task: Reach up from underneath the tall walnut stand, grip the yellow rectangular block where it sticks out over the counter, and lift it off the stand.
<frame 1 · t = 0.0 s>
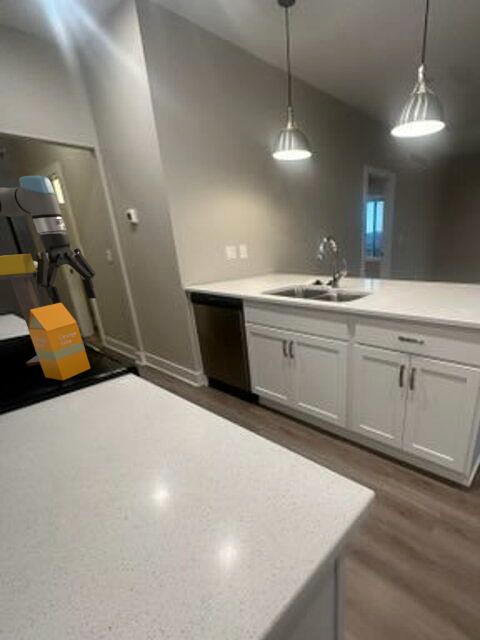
hand: (76, 302, 113), 17 cm above the counter, tool pointing down, fingers open, 12 cm apart
yellow rectangular block: (18, 272, 101), point 28 cm above the counter, touching tall stand
orange juice: (68, 373, 101), on the counter
tall stand: (49, 360, 112), on the counter
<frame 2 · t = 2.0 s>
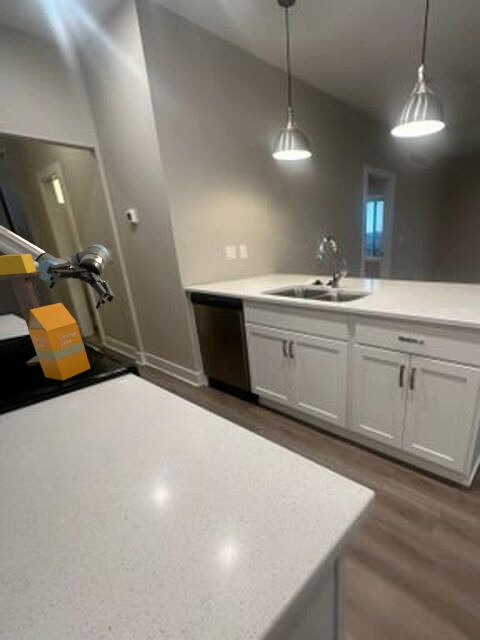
hand: (75, 295, 111), 19 cm above the counter, tool tilted 70°, fingers open, 13 cm apart
nothing on the counter moved.
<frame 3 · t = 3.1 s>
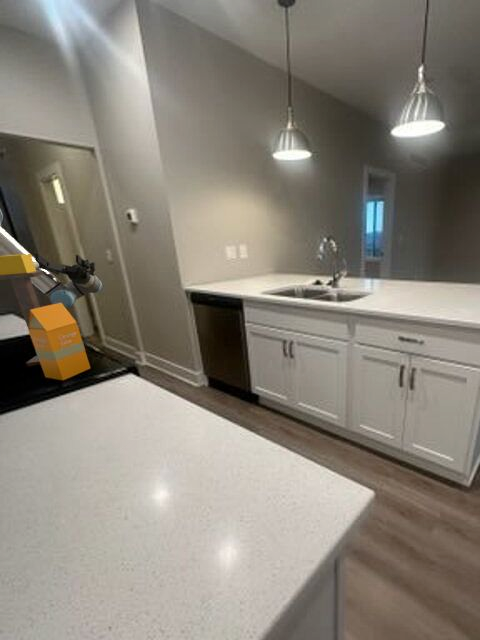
hand: (57, 258, 122), 30 cm above the counter, tool pointing upward, fingers open, 12 cm apart
nothing on the counter moved.
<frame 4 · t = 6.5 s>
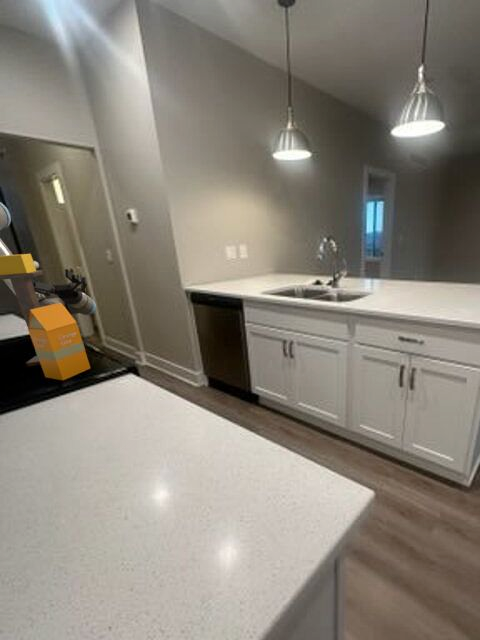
hand: (44, 274, 116), 26 cm above the counter, tool pointing upward, fingers open, 13 cm apart
nothing on the counter moved.
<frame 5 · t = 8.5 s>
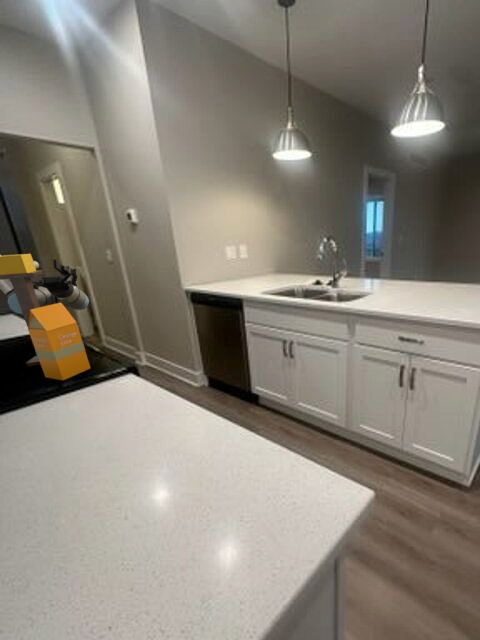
hand: (30, 265, 108), 29 cm above the counter, tool pointing upward, fingers open, 13 cm apart
nothing on the counter moved.
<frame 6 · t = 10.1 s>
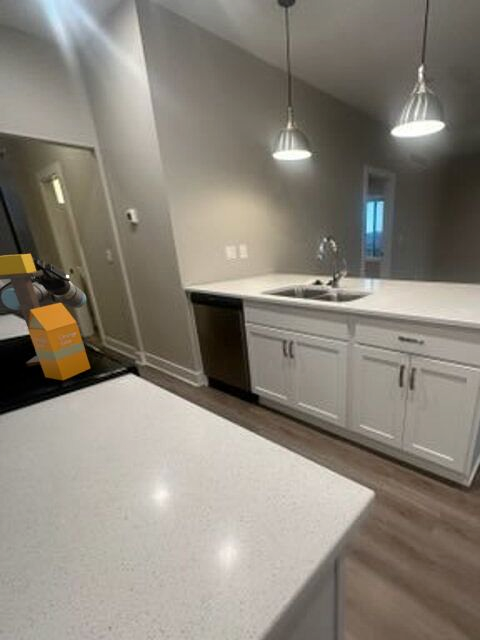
hand: (20, 257, 104), 32 cm above the counter, tool pointing upward, fingers closed on yellow rectangular block, 2 cm apart
yellow rectangular block: (18, 272, 101), point 28 cm above the counter, touching gripper, tall stand
everything else where it was.
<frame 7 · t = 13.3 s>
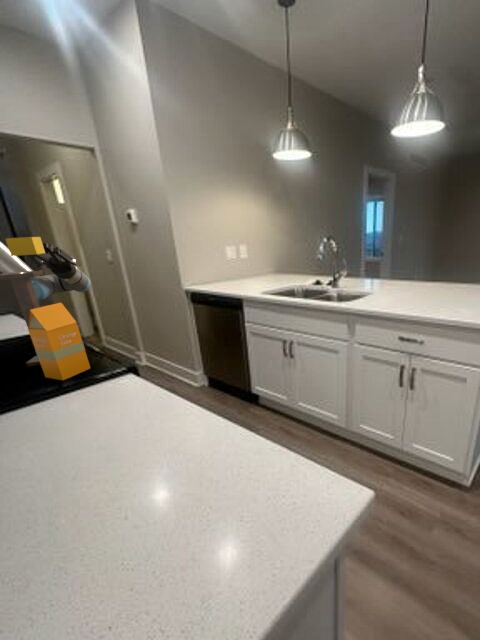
hand: (30, 240, 111), 36 cm above the counter, tool pointing upward, fingers closed on yellow rectangular block, 2 cm apart
yellow rectangular block: (28, 254, 109), point 33 cm above the counter, touching gripper
everything else where it was.
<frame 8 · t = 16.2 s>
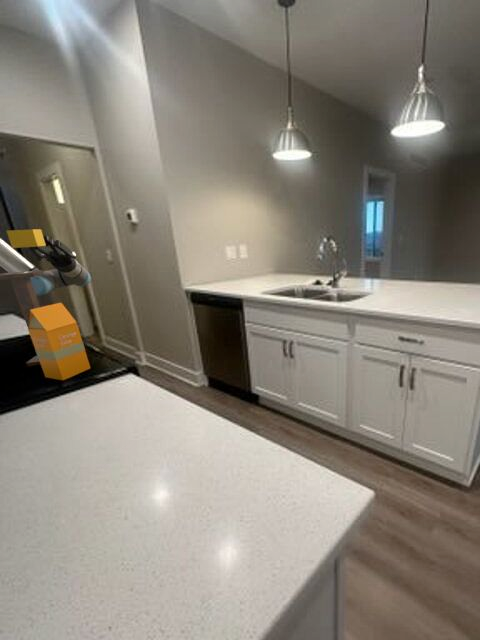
hand: (31, 233, 112), 39 cm above the counter, tool pointing upward, fingers closed on yellow rectangular block, 2 cm apart
yellow rectangular block: (29, 246, 109), point 35 cm above the counter, touching gripper
everything else where it was.
at the end: the gripper is holding yellow rectangular block; yellow rectangular block point 34.8 cm above the counter; yellow rectangular block moved 13.8 cm from its start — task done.
